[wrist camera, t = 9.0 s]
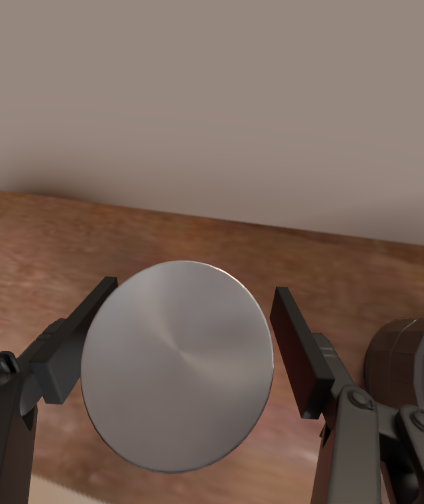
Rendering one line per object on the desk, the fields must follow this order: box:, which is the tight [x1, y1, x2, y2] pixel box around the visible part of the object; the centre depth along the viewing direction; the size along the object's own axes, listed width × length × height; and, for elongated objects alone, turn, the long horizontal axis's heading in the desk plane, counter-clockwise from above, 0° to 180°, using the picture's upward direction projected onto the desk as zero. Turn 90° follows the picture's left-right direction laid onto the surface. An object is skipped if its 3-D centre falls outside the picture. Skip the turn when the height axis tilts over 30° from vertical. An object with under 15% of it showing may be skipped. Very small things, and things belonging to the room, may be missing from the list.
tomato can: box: [80, 260, 274, 474], centre depth 13 cm, size 7×7×12 cm
